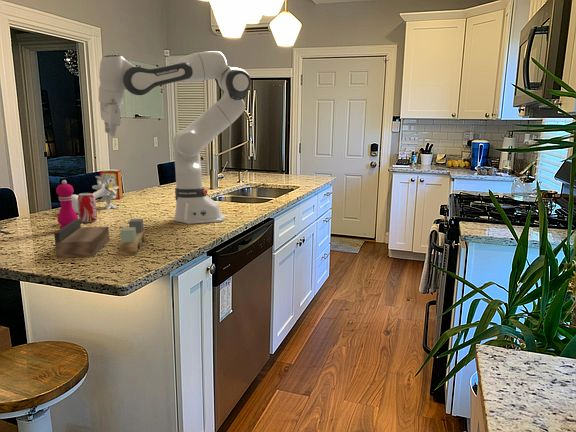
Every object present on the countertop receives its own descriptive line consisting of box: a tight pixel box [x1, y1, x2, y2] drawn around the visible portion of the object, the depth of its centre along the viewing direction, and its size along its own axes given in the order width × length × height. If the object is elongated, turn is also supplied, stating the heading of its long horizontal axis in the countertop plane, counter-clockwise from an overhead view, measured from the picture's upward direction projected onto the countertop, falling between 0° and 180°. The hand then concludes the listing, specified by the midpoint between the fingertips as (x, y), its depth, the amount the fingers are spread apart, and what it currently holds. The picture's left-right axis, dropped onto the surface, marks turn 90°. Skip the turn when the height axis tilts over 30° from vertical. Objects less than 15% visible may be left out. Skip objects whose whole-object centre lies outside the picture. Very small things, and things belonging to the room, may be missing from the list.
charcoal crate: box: [128, 218, 145, 232], centre depth 156 cm, size 4×4×4 cm
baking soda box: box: [99, 169, 124, 201], centre depth 242 cm, size 10×6×16 cm
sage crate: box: [120, 226, 136, 242], centre depth 143 cm, size 4×4×4 cm
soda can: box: [77, 192, 98, 224], centre depth 187 cm, size 7×7×12 cm
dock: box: [53, 218, 110, 258], centre depth 148 cm, size 11×20×8 cm, turn 8°
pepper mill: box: [55, 179, 79, 230], centre depth 171 cm, size 7×7×20 cm
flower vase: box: [72, 174, 119, 215], centre depth 209 cm, size 13×18×25 cm
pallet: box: [118, 228, 147, 256], centre depth 150 cm, size 5×18×4 cm, turn 8°
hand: (110, 134), depth 172 cm, fingers open, 8 cm apart
